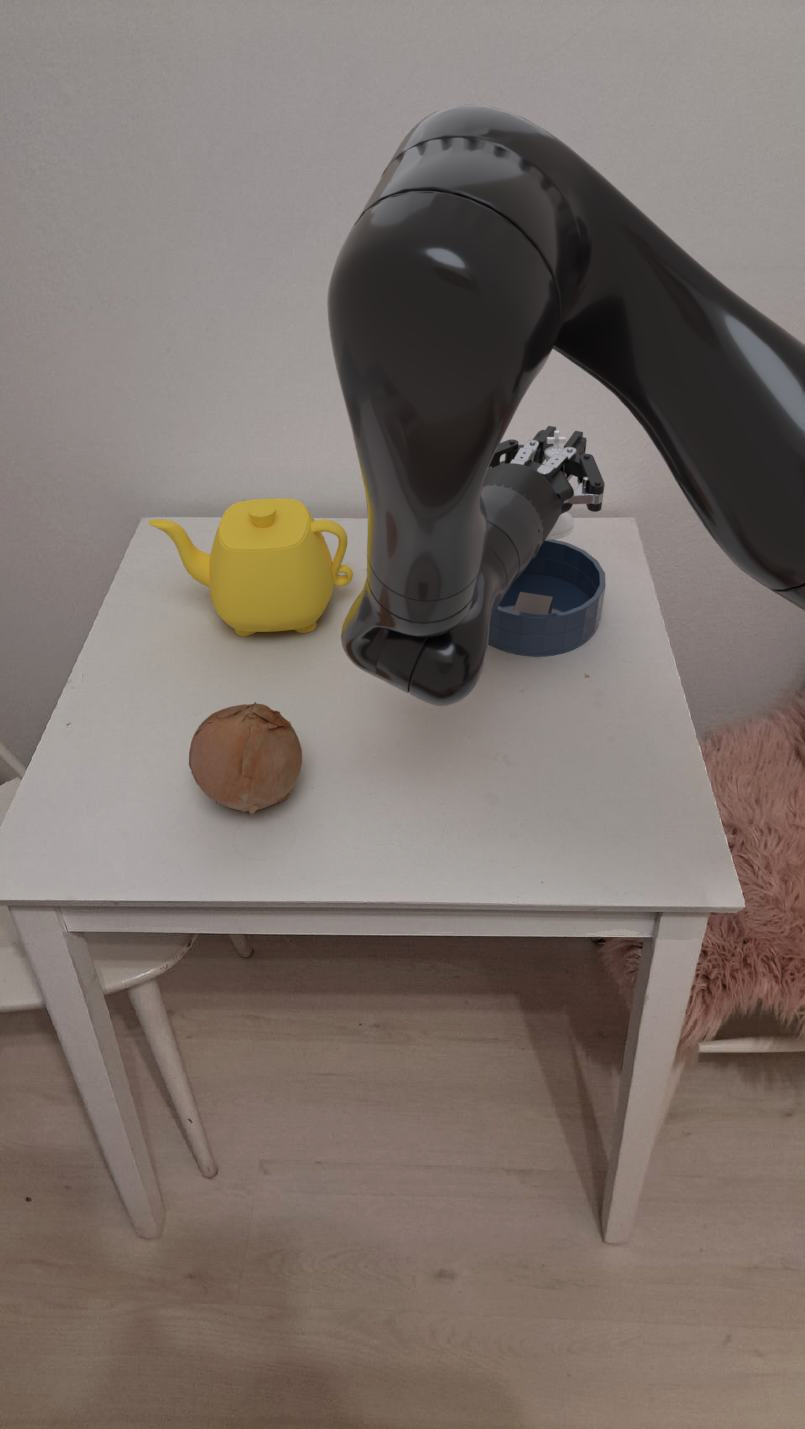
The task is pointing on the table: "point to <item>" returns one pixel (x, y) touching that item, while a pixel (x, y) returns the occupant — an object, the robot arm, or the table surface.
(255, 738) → the onion
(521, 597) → the block
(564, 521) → the chess piece
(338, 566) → the teapot
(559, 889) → the table surface
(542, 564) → the bowl
